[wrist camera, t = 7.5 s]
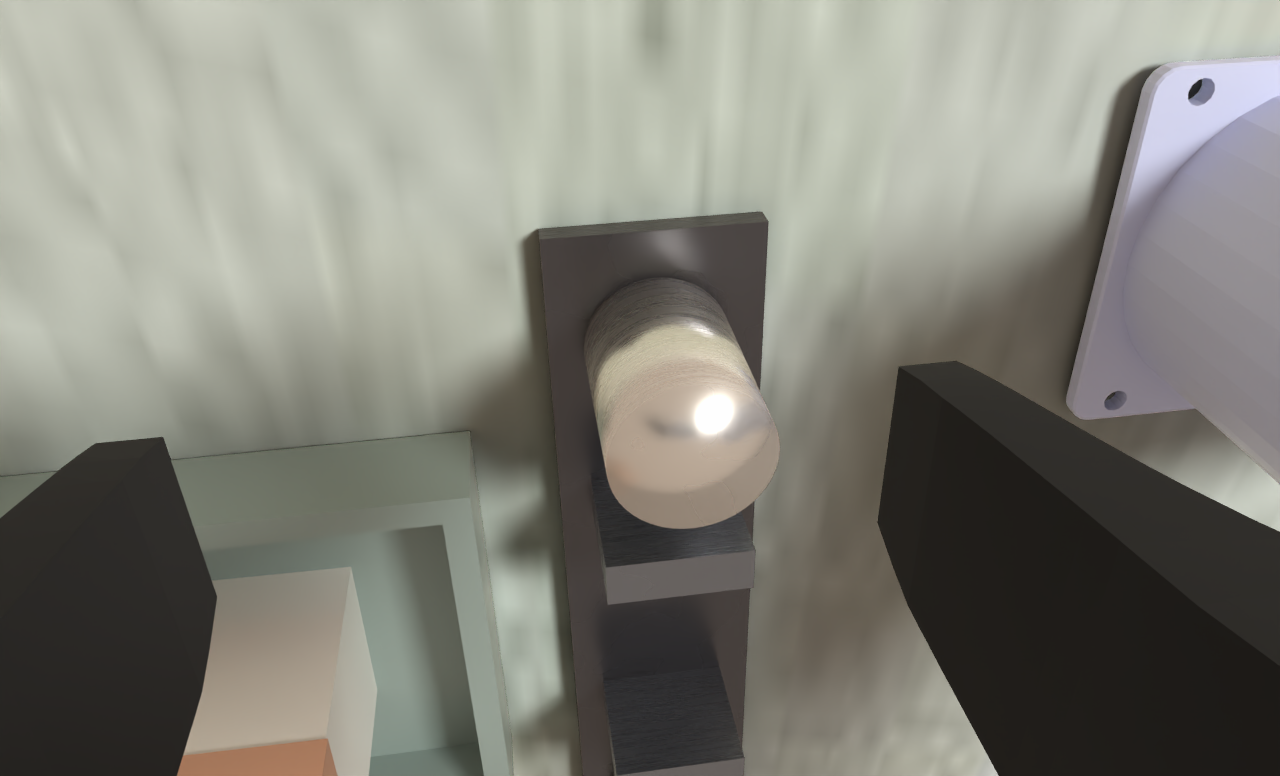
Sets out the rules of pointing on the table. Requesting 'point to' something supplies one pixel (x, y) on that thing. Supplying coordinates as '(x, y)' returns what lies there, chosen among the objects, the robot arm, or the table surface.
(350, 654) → the beige and orange block
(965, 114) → the table surface
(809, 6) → the table surface
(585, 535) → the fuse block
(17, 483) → the tray
